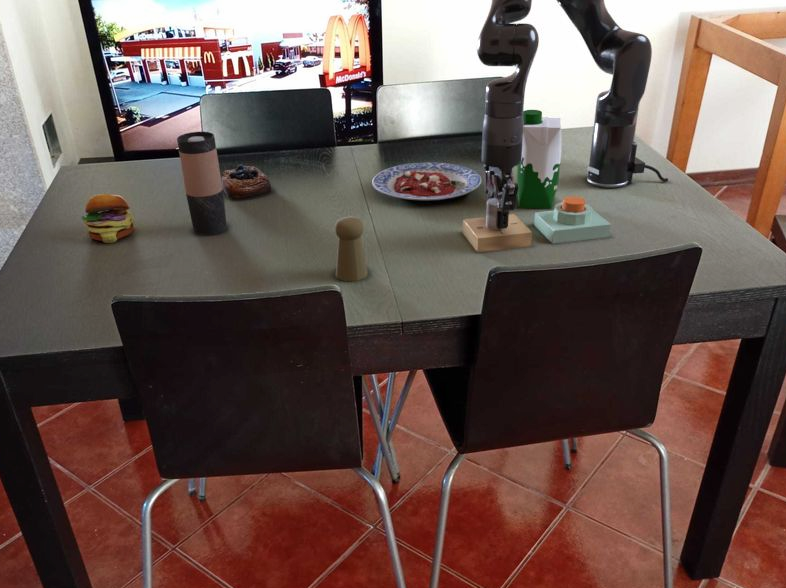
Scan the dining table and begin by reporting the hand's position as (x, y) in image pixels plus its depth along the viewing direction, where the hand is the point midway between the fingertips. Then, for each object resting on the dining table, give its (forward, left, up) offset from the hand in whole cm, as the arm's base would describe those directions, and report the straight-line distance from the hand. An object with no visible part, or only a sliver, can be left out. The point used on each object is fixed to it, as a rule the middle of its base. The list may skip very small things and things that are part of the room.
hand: (497, 222), depth 152 cm
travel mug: (+57, -22, -4) cm, 61 cm away
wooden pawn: (+31, +8, -4) cm, 32 cm away
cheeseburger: (+78, -25, -4) cm, 82 cm away
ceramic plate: (+6, -33, -4) cm, 34 cm away
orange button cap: (-16, 0, +1) cm, 16 cm away
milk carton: (-15, -17, -4) cm, 23 cm away
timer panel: (0, 0, -4) cm, 4 cm away
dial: (0, 0, -1) cm, 1 cm away
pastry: (+48, -44, -4) cm, 65 cm away
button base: (-16, 0, -4) cm, 16 cm away
